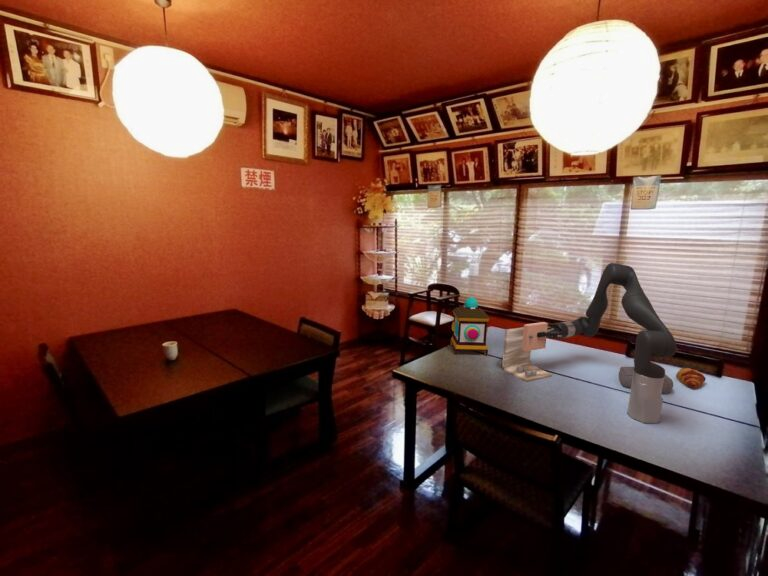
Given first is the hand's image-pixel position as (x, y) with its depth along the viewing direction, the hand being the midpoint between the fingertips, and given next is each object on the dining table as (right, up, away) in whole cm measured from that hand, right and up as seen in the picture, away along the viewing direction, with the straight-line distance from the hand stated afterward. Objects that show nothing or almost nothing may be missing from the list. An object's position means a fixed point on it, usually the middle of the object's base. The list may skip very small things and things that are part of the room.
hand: (535, 334), depth 171 cm
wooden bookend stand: (-2, -19, +6) cm, 20 cm away
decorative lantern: (-23, -13, +36) cm, 44 cm away
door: (0, -7, +1) cm, 7 cm away
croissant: (+71, -22, -1) cm, 74 cm away
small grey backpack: (+46, -23, -6) cm, 52 cm away
